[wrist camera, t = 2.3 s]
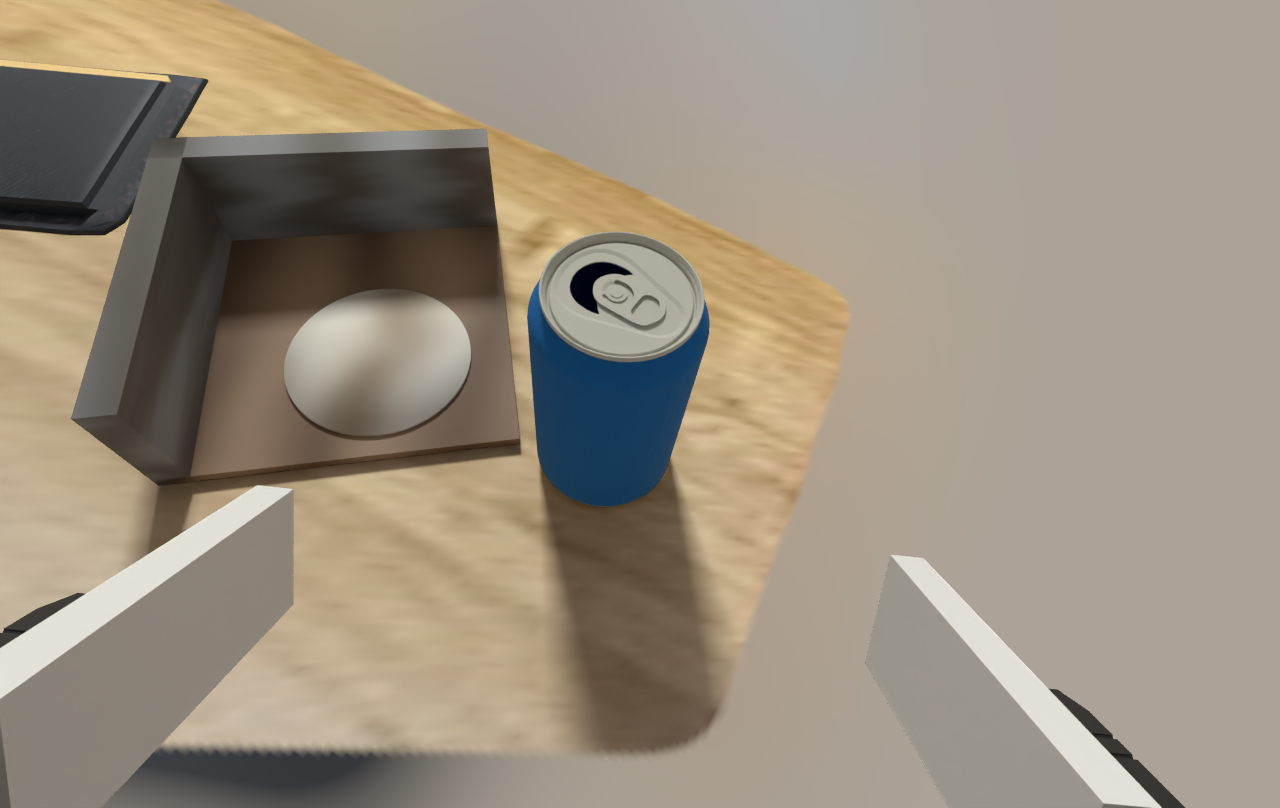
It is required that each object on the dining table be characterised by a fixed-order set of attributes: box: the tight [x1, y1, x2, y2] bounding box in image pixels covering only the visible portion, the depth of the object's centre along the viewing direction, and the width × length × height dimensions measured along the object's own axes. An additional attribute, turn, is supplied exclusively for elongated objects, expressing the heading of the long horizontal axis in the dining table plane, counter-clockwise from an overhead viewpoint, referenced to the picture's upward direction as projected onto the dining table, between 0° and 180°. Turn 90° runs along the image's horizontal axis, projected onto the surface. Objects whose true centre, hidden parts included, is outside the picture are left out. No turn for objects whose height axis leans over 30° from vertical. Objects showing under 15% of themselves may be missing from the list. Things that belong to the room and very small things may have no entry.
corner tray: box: [71, 129, 520, 486], centre depth 32 cm, size 16×16×6 cm
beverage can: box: [527, 232, 709, 507], centre depth 27 cm, size 6×6×12 cm
